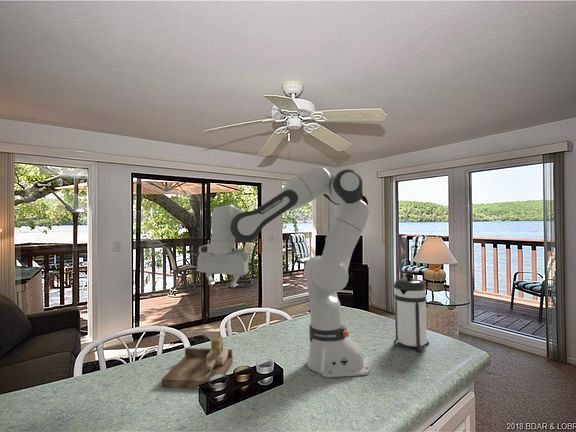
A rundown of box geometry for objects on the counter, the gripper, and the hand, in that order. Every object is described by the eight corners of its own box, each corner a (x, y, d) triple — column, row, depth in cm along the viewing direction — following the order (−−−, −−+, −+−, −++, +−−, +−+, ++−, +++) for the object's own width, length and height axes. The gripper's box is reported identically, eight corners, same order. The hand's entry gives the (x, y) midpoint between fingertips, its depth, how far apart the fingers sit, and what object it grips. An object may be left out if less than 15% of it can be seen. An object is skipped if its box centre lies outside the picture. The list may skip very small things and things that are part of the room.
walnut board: (232, 362, 112) (232, 349, 112) (215, 389, 94) (215, 373, 94) (186, 361, 114) (186, 347, 114) (161, 387, 96) (161, 371, 96)
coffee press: (440, 352, 117) (438, 276, 118) (399, 353, 118) (397, 276, 118) (421, 335, 135) (419, 269, 135) (386, 336, 135) (384, 269, 136)
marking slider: (228, 357, 110) (227, 335, 110) (217, 373, 99) (217, 348, 99) (212, 356, 111) (212, 335, 111) (200, 372, 99) (199, 348, 100)
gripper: (251, 248, 109) (251, 286, 109) (205, 246, 117) (204, 282, 116) (243, 249, 103) (242, 290, 103) (195, 247, 111) (194, 285, 111)
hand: (222, 285), depth 110 cm, fingers open, 8 cm apart
